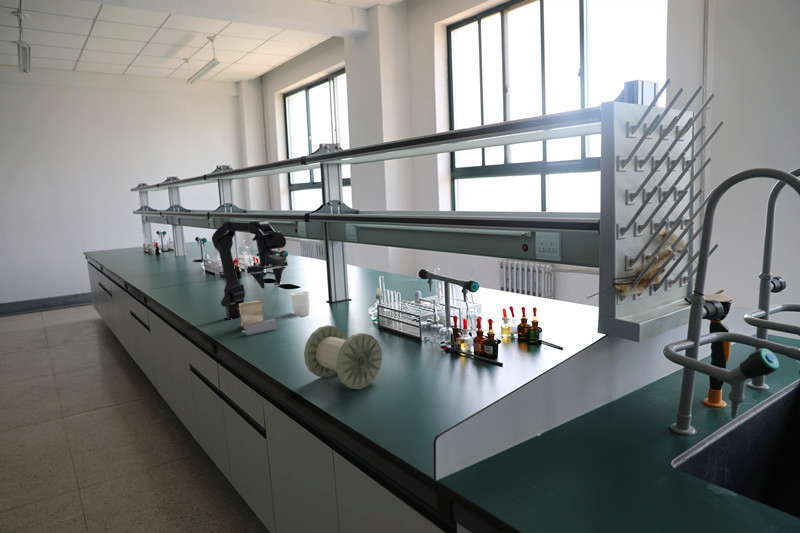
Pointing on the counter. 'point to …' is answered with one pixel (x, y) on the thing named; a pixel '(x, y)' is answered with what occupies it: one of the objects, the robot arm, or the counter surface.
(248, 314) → the block
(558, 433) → the counter surface
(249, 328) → the grey rectangular bar
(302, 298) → the white cup
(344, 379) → the spool
